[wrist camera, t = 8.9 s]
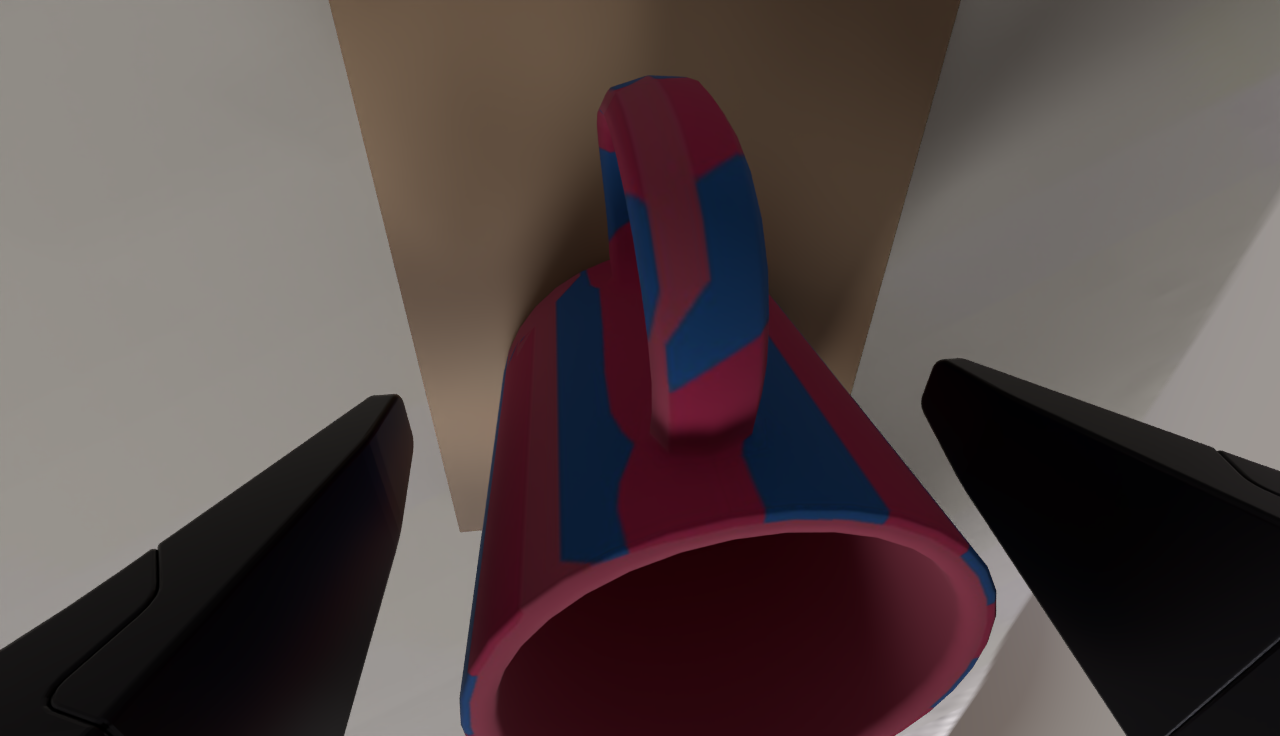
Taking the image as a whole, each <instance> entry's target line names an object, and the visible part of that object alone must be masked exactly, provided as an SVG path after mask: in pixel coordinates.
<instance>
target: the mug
mask: <svg viewBox="0 0 1280 736" xmlns="http://www.w3.org/2000/svg"><path fill="white" fill-rule="evenodd" d="M597 133H598V145H599V153H600V161H601V169H602V178H603V187H604V196H605V206H606V215H607V226H608V239H609V256H610V260H607V261H605V262H602V263H600V264H598V265H595V266H593V267H591V268H588V269H586V270H584V271H581V272H579V273H578V274H576V275H575V276H573V277H572V278H570V279H569V280H567V281H566V282H564V283H562V284H561V285H559V286H558V287H556V288H555V289H554V290H553V291H552V292H551V293H550V294H549V295H548V296H546V297H545V298H544V299H543V300H542V301H541V302H540V303H539V304H538V305H537V306H536V307H535V308H534V309H533V311H532V312H531V313H530V315H529V316H528V317H527V319H526V320H525V321H524V323H523V324H522V326H521V327H520V328H519V330H518V333H517V335H516V337H515V339H514V341H513V343H512V345H511V347H510V350H509V353H508V357H507V361H506V365H505V369H504V373H503V381H502V388H501V396H500V403H499V410H498V418H497V425H496V433H495V440H494V447H493V455H492V462H491V470H490V477H489V484H488V492H487V499H486V507H485V514H484V521H483V529H482V536H481V544H480V551H479V558H478V566H477V573H476V581H475V588H474V595H473V603H472V610H471V618H470V625H469V632H468V640H467V647H466V655H465V662H464V669H463V677H462V684H461V692H460V716H461V726H462V728H463V730H464V733H465V735H466V736H895V735H896V734H898V733H900V732H901V731H903V730H904V729H906V728H907V727H909V726H910V725H911V724H913V723H914V722H916V721H917V720H918V719H920V718H921V717H923V716H924V715H925V714H927V713H928V712H930V711H931V710H932V709H933V708H934V707H935V706H936V705H937V704H939V703H940V702H941V701H942V700H943V699H944V698H945V697H946V696H948V695H949V694H950V693H951V692H952V691H953V690H954V689H955V688H956V687H957V685H958V684H959V683H960V682H961V681H962V680H963V678H964V677H965V676H966V675H967V674H968V673H969V671H970V670H971V669H972V668H973V666H974V665H975V663H976V661H977V660H978V658H979V656H980V654H981V653H982V651H983V649H984V648H985V646H986V644H987V642H988V640H989V636H990V633H991V630H992V627H993V624H994V620H995V617H996V588H995V586H994V583H993V580H992V577H991V575H990V572H989V569H988V567H987V565H986V564H985V563H984V562H983V560H982V559H981V558H980V557H979V555H978V554H977V553H976V552H975V550H974V549H973V548H972V547H971V545H970V544H969V543H968V542H967V540H966V539H965V538H964V537H963V535H962V534H961V533H960V532H959V530H958V529H957V528H956V527H955V525H954V524H953V523H952V522H951V520H950V519H949V518H948V517H947V515H946V514H945V513H944V512H943V510H942V509H941V508H940V507H939V505H938V504H937V503H936V502H935V500H934V499H933V498H932V497H931V495H930V494H929V493H928V492H927V490H926V489H925V488H924V487H923V485H922V484H921V483H920V482H919V480H918V479H917V478H916V477H915V475H914V474H913V473H912V472H911V470H910V469H909V468H908V467H907V465H906V464H905V463H904V462H903V460H902V459H901V458H900V457H899V455H898V454H897V453H896V452H895V450H894V449H893V448H892V447H891V445H890V444H889V443H888V442H887V440H886V439H885V438H884V437H883V435H882V434H881V433H880V432H879V430H878V429H877V428H876V427H875V425H874V424H873V423H872V422H871V420H870V419H869V418H868V417H867V415H866V414H865V413H864V412H863V410H862V409H861V408H860V407H859V405H858V404H857V403H856V402H855V400H854V399H853V398H852V397H851V395H850V394H849V393H848V392H847V390H846V389H845V388H844V387H843V385H842V384H841V383H840V382H839V380H838V379H837V378H836V377H835V375H834V374H833V373H832V372H831V370H830V369H829V368H828V367H827V365H826V364H825V363H824V362H823V360H822V359H821V358H820V357H819V355H818V354H817V353H816V352H815V350H814V349H813V348H812V347H811V345H810V344H809V343H808V342H807V340H806V339H805V338H804V337H803V335H802V334H801V333H800V332H799V330H798V329H797V328H796V327H795V325H794V324H793V323H792V322H791V320H790V319H789V318H788V317H787V315H786V314H785V313H784V312H783V310H782V309H781V308H780V307H779V305H778V304H777V303H776V302H775V300H774V299H773V298H772V297H771V296H770V294H769V284H768V264H767V256H766V248H765V240H764V231H763V223H762V217H761V213H760V208H759V204H758V200H757V196H756V191H755V187H754V183H753V179H752V175H751V171H750V168H749V166H748V163H747V160H746V158H745V155H744V153H743V150H742V147H741V145H740V142H739V139H738V137H737V135H736V133H735V132H734V130H733V128H732V126H731V125H730V123H729V121H728V120H727V118H726V116H725V114H724V113H723V111H722V110H721V108H720V107H719V106H718V104H717V103H716V101H715V100H714V99H713V97H712V96H711V95H710V94H709V92H708V91H707V90H706V89H705V88H704V87H703V86H702V85H701V83H700V82H699V81H697V80H694V79H691V78H688V77H679V76H655V75H647V76H644V77H641V78H637V79H634V80H631V81H628V82H625V83H622V84H619V85H616V86H613V87H610V88H609V90H608V91H607V92H606V94H605V96H604V99H603V101H602V103H601V105H600V107H599V110H598V112H597Z"/></svg>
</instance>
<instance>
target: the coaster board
mask: <svg viewBox="0 0 1280 736" xmlns="http://www.w3.org/2000/svg"><path fill="white" fill-rule="evenodd" d="M960 1H961V0H329V3H330V7H331V11H332V15H333V19H334V23H335V27H336V31H337V35H338V39H339V43H340V48H341V52H342V56H343V60H344V64H345V68H346V72H347V76H348V80H349V84H350V88H351V92H352V96H353V100H354V104H355V108H356V112H357V116H358V120H359V124H360V129H361V133H362V137H363V141H364V145H365V149H366V153H367V157H368V161H369V165H370V169H371V173H372V177H373V181H374V185H375V189H376V193H377V197H378V201H379V205H380V209H381V214H382V218H383V222H384V226H385V230H386V234H387V238H388V242H389V246H390V250H391V254H392V258H393V262H394V266H395V270H396V274H397V278H398V282H399V286H400V290H401V295H402V299H403V303H404V307H405V311H406V315H407V319H408V323H409V327H410V331H411V335H412V339H413V343H414V347H415V351H416V355H417V359H418V363H419V367H420V371H421V376H422V380H423V384H424V388H425V392H426V396H427V400H428V404H429V408H430V412H431V416H432V420H433V424H434V428H435V432H436V436H437V440H438V444H439V448H440V452H441V457H442V461H443V465H444V469H445V473H446V477H447V481H448V485H449V489H450V493H451V497H452V501H453V505H454V509H455V513H456V517H457V521H458V525H459V529H460V532H468V531H479V530H482V529H483V521H484V514H485V507H486V499H487V492H488V484H489V477H490V470H491V462H492V455H493V447H494V440H495V433H496V425H497V418H498V410H499V403H500V396H501V388H502V381H503V373H504V369H505V365H506V361H507V357H508V353H509V350H510V347H511V345H512V343H513V341H514V339H515V337H516V335H517V333H518V330H519V328H520V327H521V326H522V324H523V323H524V321H525V320H526V319H527V317H528V316H529V315H530V313H531V312H532V311H533V309H534V308H535V307H536V306H537V305H538V304H539V303H540V302H541V301H542V300H543V299H544V298H545V297H546V296H548V295H549V294H550V293H551V292H552V291H553V290H554V289H555V288H556V287H558V286H559V285H561V284H562V283H564V282H566V281H567V280H569V279H570V278H572V277H573V276H575V275H576V274H578V273H579V272H581V271H584V270H586V269H588V268H591V267H593V266H595V265H598V264H600V263H602V262H605V261H607V260H610V256H609V239H608V226H607V215H606V206H605V196H604V187H603V178H602V169H601V161H600V153H599V145H598V133H597V112H598V110H599V107H600V105H601V103H602V101H603V99H604V96H605V94H606V92H607V91H608V90H609V88H610V87H613V86H616V85H619V84H622V83H625V82H628V81H631V80H634V79H637V78H641V77H644V76H647V75H655V76H679V77H688V78H691V79H694V80H697V81H699V82H700V83H701V85H702V86H703V87H704V88H705V89H706V90H707V91H708V92H709V94H710V95H711V96H712V97H713V99H714V100H715V101H716V103H717V104H718V106H719V107H720V108H721V110H722V111H723V113H724V114H725V116H726V118H727V120H728V121H729V123H730V125H731V126H732V128H733V130H734V132H735V133H736V135H737V137H738V139H739V142H740V145H741V147H742V150H743V153H744V155H745V158H746V160H747V163H748V166H749V168H750V171H751V175H752V179H753V183H754V187H755V191H756V196H757V200H758V204H759V208H760V213H761V217H762V223H763V231H764V240H765V248H766V256H767V264H768V284H769V294H770V296H771V297H772V298H773V299H774V300H775V302H776V303H777V304H778V305H779V307H780V308H781V309H782V310H783V312H784V313H785V314H786V315H787V317H788V318H789V319H790V320H791V322H792V323H793V324H794V325H795V327H796V328H797V329H798V330H799V332H800V333H801V334H802V335H803V337H804V338H805V339H806V340H807V342H808V343H809V344H810V345H811V347H812V348H813V349H814V350H815V352H816V353H817V354H818V355H819V357H820V358H821V359H822V360H823V362H824V363H825V364H826V365H827V367H828V368H829V369H830V370H831V372H832V373H833V374H834V375H835V377H836V378H837V379H838V380H839V382H840V383H841V384H842V385H843V387H844V388H845V389H846V390H847V392H848V393H849V394H850V395H851V391H852V388H853V384H854V381H855V377H856V373H857V370H858V366H859V363H860V359H861V356H862V352H863V348H864V345H865V341H866V338H867V334H868V330H869V327H870V323H871V320H872V316H873V313H874V309H875V305H876V302H877V298H878V295H879V291H880V287H881V284H882V280H883V277H884V273H885V270H886V266H887V262H888V259H889V255H890V252H891V248H892V244H893V241H894V237H895V234H896V230H897V227H898V223H899V219H900V216H901V212H902V209H903V205H904V201H905V198H906V194H907V191H908V187H909V183H910V180H911V176H912V173H913V169H914V166H915V162H916V158H917V155H918V151H919V148H920V144H921V140H922V137H923V133H924V130H925V126H926V123H927V119H928V115H929V112H930V108H931V105H932V101H933V97H934V94H935V90H936V87H937V83H938V80H939V76H940V72H941V69H942V65H943V62H944V58H945V54H946V51H947V47H948V44H949V40H950V37H951V33H952V29H953V26H954V22H955V19H956V15H957V11H958V8H959V4H960Z"/></svg>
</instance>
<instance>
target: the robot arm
mask: <svg viewBox="0 0 1280 736" xmlns="http://www.w3.org/2000/svg"><path fill="white" fill-rule="evenodd" d="M921 405H922V410H923V413H924V415H925V416H926V418H927V420H928V422H929V424H930V426H931V428H932V430H933V432H934V434H935V436H936V438H937V440H938V441H939V443H940V445H941V447H942V449H943V451H944V453H945V455H946V457H947V459H948V461H949V463H950V464H951V466H952V468H953V470H954V472H955V474H956V476H957V477H958V479H959V481H960V483H961V484H962V486H963V488H964V489H965V491H966V492H967V494H968V496H969V497H970V499H971V500H972V502H973V503H974V505H975V506H976V508H977V509H978V511H979V512H980V514H981V515H982V517H983V518H984V520H985V521H986V523H987V524H988V526H989V528H990V529H991V531H992V532H993V534H994V535H995V537H996V538H997V540H998V541H999V543H1000V544H1001V546H1002V547H1003V549H1004V550H1005V552H1006V553H1007V555H1008V556H1009V558H1010V559H1011V561H1012V562H1013V564H1014V566H1015V567H1016V569H1017V570H1018V572H1019V573H1020V575H1021V576H1022V578H1023V579H1024V581H1025V582H1026V584H1027V585H1028V587H1029V588H1030V590H1031V591H1032V593H1033V594H1034V596H1035V597H1036V599H1037V601H1038V602H1039V603H1040V605H1041V607H1042V608H1043V610H1044V611H1045V613H1046V614H1047V616H1048V617H1049V619H1050V620H1051V622H1052V623H1053V625H1054V626H1055V628H1056V629H1057V631H1058V632H1059V634H1060V635H1061V637H1062V639H1063V640H1064V641H1065V643H1066V645H1067V646H1068V648H1069V649H1070V651H1071V652H1072V653H1073V655H1074V657H1075V658H1076V660H1077V661H1078V663H1079V664H1080V666H1081V667H1082V669H1083V670H1084V672H1085V673H1086V675H1087V676H1088V678H1089V680H1090V681H1091V683H1092V684H1093V686H1094V687H1095V689H1096V690H1097V692H1098V693H1099V695H1100V696H1101V698H1102V699H1103V701H1104V702H1105V704H1106V705H1107V707H1108V708H1109V710H1110V711H1111V713H1112V714H1113V716H1114V718H1115V719H1116V721H1117V722H1118V724H1119V725H1120V727H1121V728H1122V730H1123V731H1124V733H1125V734H1126V736H1280V471H1278V470H1275V469H1272V468H1269V467H1267V466H1263V465H1261V464H1258V463H1255V462H1252V461H1249V460H1246V459H1244V458H1241V457H1238V456H1235V455H1232V454H1230V453H1227V452H1224V451H1216V450H1215V449H1214V448H1212V447H1210V446H1207V445H1204V444H1202V443H1198V442H1195V441H1193V440H1190V439H1188V438H1185V437H1182V436H1179V435H1176V434H1173V433H1171V432H1168V431H1165V430H1162V429H1160V428H1156V427H1154V426H1151V425H1148V424H1146V423H1143V422H1140V421H1137V420H1134V419H1132V418H1129V417H1126V416H1123V415H1120V414H1118V413H1115V412H1112V411H1109V410H1106V409H1104V408H1101V407H1098V406H1095V405H1092V404H1090V403H1087V402H1084V401H1081V400H1078V399H1076V398H1073V397H1070V396H1067V395H1064V394H1062V393H1059V392H1056V391H1053V390H1050V389H1048V388H1045V387H1042V386H1039V385H1036V384H1034V383H1031V382H1028V381H1025V380H1022V379H1020V378H1017V377H1014V376H1011V375H1008V374H1006V373H1003V372H1000V371H997V370H994V369H992V368H989V367H986V366H983V365H980V364H978V363H975V362H972V361H969V360H966V359H962V358H955V359H942V360H939V361H937V362H936V364H935V365H934V366H933V368H932V371H931V374H930V376H929V379H928V382H927V384H926V387H925V390H924V393H923V395H922V400H921ZM412 455H413V435H412V431H411V428H410V424H409V420H408V417H407V413H406V410H405V406H404V403H403V400H402V398H401V397H400V396H399V395H397V394H388V395H373V396H370V397H369V398H367V399H366V400H364V401H363V402H361V403H360V404H358V405H357V406H356V407H354V408H353V409H351V410H350V411H348V412H347V413H346V414H344V415H343V416H341V417H340V418H338V419H337V420H336V421H334V422H333V423H331V424H330V425H328V426H327V427H326V428H324V429H323V430H321V431H320V432H318V433H317V434H316V435H314V436H313V437H311V438H310V439H308V440H307V441H306V442H304V443H303V444H301V445H300V446H298V447H297V448H296V449H294V450H293V451H291V452H290V453H288V454H287V455H286V456H284V457H283V458H281V459H280V460H278V461H277V462H276V463H274V464H273V465H271V466H270V467H268V468H267V469H266V470H264V471H263V472H261V473H260V474H258V475H257V476H256V477H254V478H253V479H251V480H250V481H248V482H247V483H246V484H244V485H243V486H241V487H240V488H238V489H237V490H236V491H234V492H233V493H231V494H230V495H228V496H227V497H226V498H224V499H223V500H221V501H220V502H218V503H217V504H216V505H214V506H213V507H211V508H210V509H208V510H207V511H206V512H204V513H203V514H201V515H200V516H198V517H197V518H196V519H194V520H193V521H191V522H190V523H188V524H187V525H186V526H184V527H183V528H181V529H180V530H178V531H177V532H176V533H174V534H173V535H171V536H170V537H168V538H167V539H166V540H164V541H163V542H161V543H160V544H159V545H158V550H157V549H151V550H150V551H148V552H147V553H145V554H144V555H143V556H141V557H140V558H138V559H137V560H135V561H134V562H133V563H131V564H130V565H128V566H127V567H125V568H124V569H123V570H121V571H120V572H118V573H117V574H115V575H114V576H112V577H111V578H109V579H108V580H106V581H105V582H104V583H102V584H101V585H99V586H98V587H96V588H95V589H93V590H92V591H90V592H89V593H87V594H86V595H84V596H83V597H81V598H80V599H78V600H77V601H76V602H74V603H73V604H71V605H70V606H68V607H67V608H65V609H64V610H62V611H60V612H59V613H57V614H56V615H54V616H53V617H51V618H50V619H48V620H46V621H45V622H43V623H42V624H40V625H39V626H37V627H35V628H34V629H32V630H31V631H29V632H28V633H26V634H25V635H23V636H21V637H20V638H18V639H17V640H15V641H14V642H12V643H10V644H9V645H7V646H6V647H4V648H3V649H1V650H0V736H344V734H345V730H346V727H347V723H348V719H349V716H350V712H351V709H352V705H353V702H354V698H355V695H356V691H357V688H358V684H359V680H360V677H361V673H362V670H363V666H364V663H365V659H366V656H367V652H368V649H369V645H370V642H371V638H372V634H373V631H374V627H375V624H376V620H377V617H378V613H379V610H380V606H381V603H382V599H383V595H384V592H385V588H386V585H387V581H388V578H389V574H390V571H391V567H392V564H393V560H394V556H395V553H396V549H397V545H398V541H399V537H400V533H401V527H402V521H403V515H404V508H405V502H406V495H407V488H408V482H409V475H410V468H411V462H412Z"/></svg>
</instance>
